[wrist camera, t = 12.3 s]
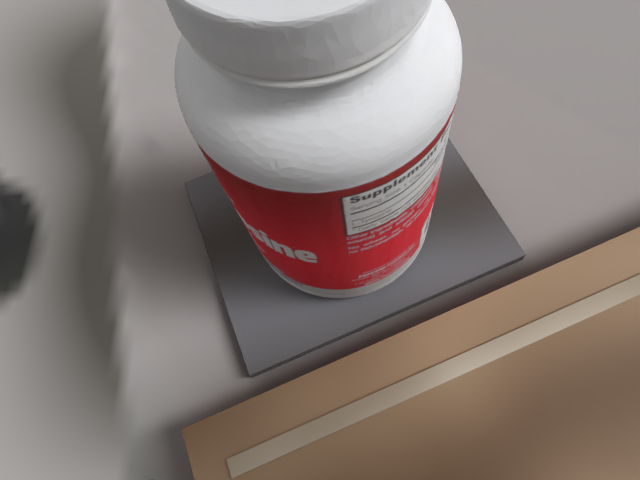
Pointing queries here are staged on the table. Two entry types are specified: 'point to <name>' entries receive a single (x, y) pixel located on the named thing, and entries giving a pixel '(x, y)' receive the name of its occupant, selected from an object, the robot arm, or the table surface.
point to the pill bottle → (323, 127)
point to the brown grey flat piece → (432, 360)
